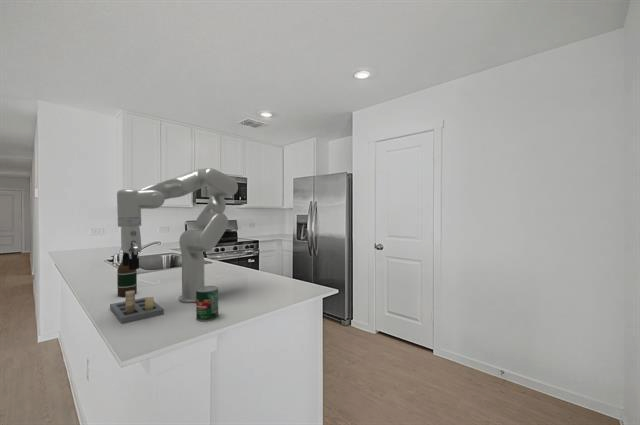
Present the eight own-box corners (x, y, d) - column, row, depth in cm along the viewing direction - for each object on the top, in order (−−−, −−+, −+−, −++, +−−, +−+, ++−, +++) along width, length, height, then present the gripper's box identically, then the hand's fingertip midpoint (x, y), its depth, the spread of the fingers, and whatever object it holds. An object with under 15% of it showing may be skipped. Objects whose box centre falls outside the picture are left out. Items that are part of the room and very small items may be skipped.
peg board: (163, 314, 116) (163, 298, 116) (121, 323, 106) (121, 307, 106) (148, 301, 132) (148, 288, 132) (110, 309, 122) (109, 294, 122)
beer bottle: (140, 293, 145) (140, 244, 144) (125, 298, 137) (125, 246, 137) (128, 292, 147) (128, 243, 147) (113, 296, 140) (112, 245, 139)
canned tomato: (220, 313, 117) (220, 285, 117) (216, 320, 109) (216, 290, 109) (199, 314, 116) (199, 286, 116) (193, 321, 108) (193, 291, 108)
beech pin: (135, 317, 113) (135, 291, 112) (126, 319, 110) (126, 292, 110) (133, 315, 115) (133, 289, 115) (124, 317, 113) (124, 291, 113)
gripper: (147, 222, 109) (148, 269, 109) (135, 221, 121) (136, 262, 122) (122, 223, 103) (124, 272, 104) (113, 222, 116) (114, 265, 116)
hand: (130, 267), depth 113 cm, fingers open, 9 cm apart
